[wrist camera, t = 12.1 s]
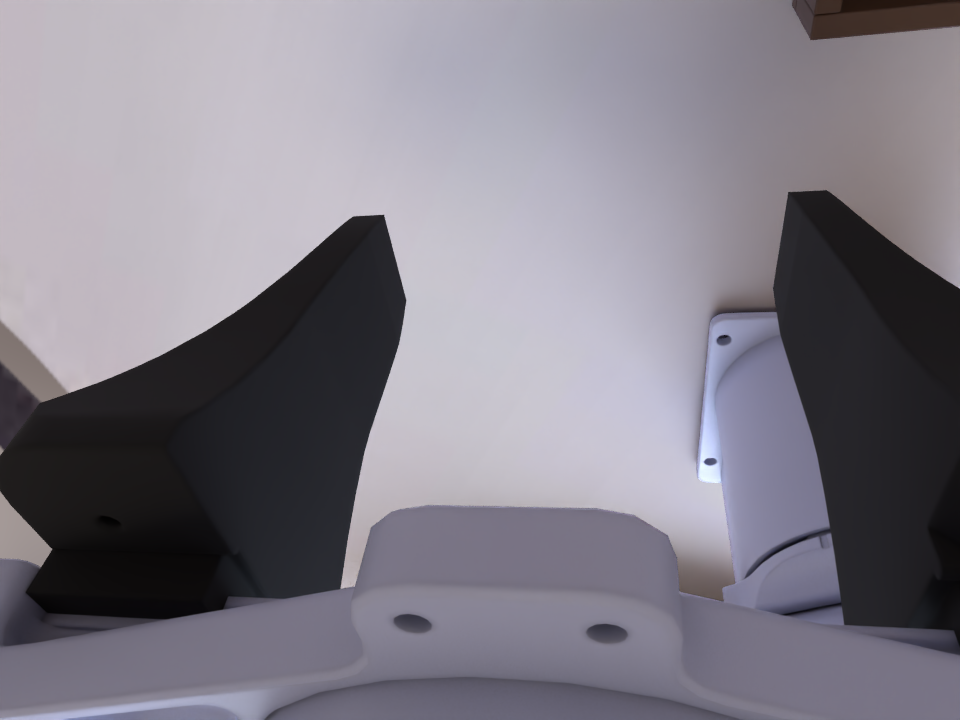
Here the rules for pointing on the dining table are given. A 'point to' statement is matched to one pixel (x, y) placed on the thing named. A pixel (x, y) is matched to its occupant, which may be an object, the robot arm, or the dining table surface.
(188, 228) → the dining table surface
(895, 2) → the tray
